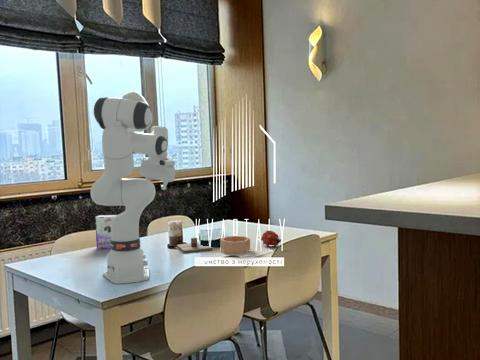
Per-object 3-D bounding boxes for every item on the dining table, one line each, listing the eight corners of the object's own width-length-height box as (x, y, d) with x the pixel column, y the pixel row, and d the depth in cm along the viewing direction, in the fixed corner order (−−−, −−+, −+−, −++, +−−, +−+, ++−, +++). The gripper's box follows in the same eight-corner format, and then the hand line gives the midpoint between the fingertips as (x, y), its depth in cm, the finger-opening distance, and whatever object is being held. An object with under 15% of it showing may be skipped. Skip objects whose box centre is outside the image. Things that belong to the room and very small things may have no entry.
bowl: (253, 252, 232) (253, 240, 232) (226, 255, 227) (226, 243, 227) (243, 246, 245) (243, 235, 244) (217, 249, 240) (217, 237, 239)
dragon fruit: (264, 246, 251) (278, 254, 242) (254, 239, 247) (267, 246, 237) (273, 232, 253) (287, 240, 243) (263, 224, 248) (277, 232, 238)
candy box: (126, 246, 250) (125, 214, 248) (122, 249, 244) (121, 216, 243) (100, 246, 251) (99, 214, 250) (96, 249, 246) (94, 216, 244)
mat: (215, 251, 236) (215, 250, 236) (182, 254, 231) (182, 254, 231) (204, 244, 251) (204, 243, 251) (174, 247, 245) (174, 246, 245)
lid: (212, 250, 237) (212, 239, 236) (184, 253, 232) (183, 242, 231) (203, 244, 250) (203, 234, 249) (176, 247, 245) (176, 236, 244)
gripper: (137, 156, 239) (136, 184, 241) (169, 163, 228) (167, 192, 230) (146, 156, 244) (145, 183, 246) (178, 162, 233) (176, 190, 235)
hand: (156, 187), depth 238 cm, fingers open, 8 cm apart
